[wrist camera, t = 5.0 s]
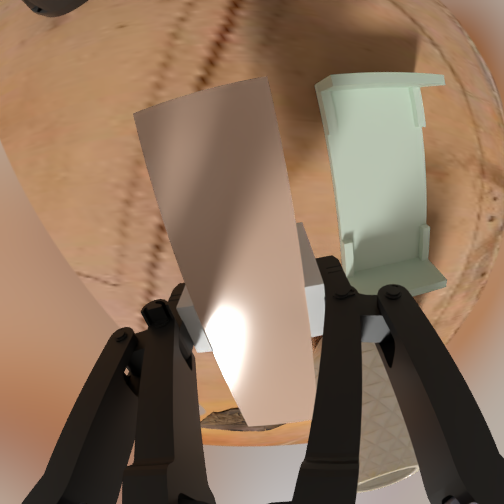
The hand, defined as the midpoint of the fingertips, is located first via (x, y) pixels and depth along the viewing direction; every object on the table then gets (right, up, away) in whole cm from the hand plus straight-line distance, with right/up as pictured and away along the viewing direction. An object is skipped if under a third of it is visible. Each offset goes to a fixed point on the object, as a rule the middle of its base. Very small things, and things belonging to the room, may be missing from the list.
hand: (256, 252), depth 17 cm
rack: (+14, +8, +12) cm, 20 cm away
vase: (+15, -14, +23) cm, 31 cm away
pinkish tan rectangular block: (0, 0, +1) cm, 1 cm away
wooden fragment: (-1, -35, +34) cm, 49 cm away
